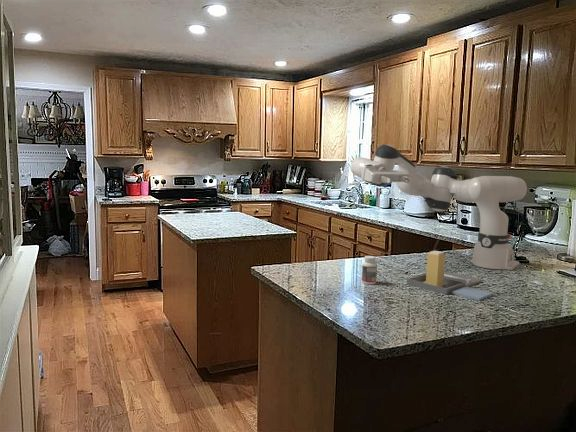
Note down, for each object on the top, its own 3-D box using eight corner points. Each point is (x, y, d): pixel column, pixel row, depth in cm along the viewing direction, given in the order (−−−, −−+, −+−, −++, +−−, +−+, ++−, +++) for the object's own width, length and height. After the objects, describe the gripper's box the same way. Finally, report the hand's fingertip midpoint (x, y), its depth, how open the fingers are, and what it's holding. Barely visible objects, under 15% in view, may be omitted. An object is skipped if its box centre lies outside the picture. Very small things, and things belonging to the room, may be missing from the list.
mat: (465, 288, 171) (465, 286, 171) (493, 295, 164) (493, 292, 164) (451, 293, 164) (451, 291, 164) (479, 300, 157) (479, 298, 157)
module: (432, 283, 177) (434, 250, 175) (443, 286, 173) (445, 252, 172) (425, 285, 174) (427, 251, 172) (436, 288, 170) (438, 253, 169)
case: (443, 273, 192) (444, 268, 192) (482, 281, 180) (482, 276, 180) (406, 284, 175) (406, 278, 175) (446, 294, 163) (446, 288, 163)
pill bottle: (360, 280, 178) (361, 255, 177) (373, 280, 179) (375, 255, 177) (363, 284, 173) (364, 258, 172) (378, 284, 173) (379, 258, 172)
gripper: (395, 180, 206) (417, 188, 195) (357, 180, 196) (379, 188, 185) (397, 165, 205) (420, 173, 193) (360, 165, 195) (382, 173, 183)
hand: (400, 180), depth 189 cm, fingers open, 8 cm apart
